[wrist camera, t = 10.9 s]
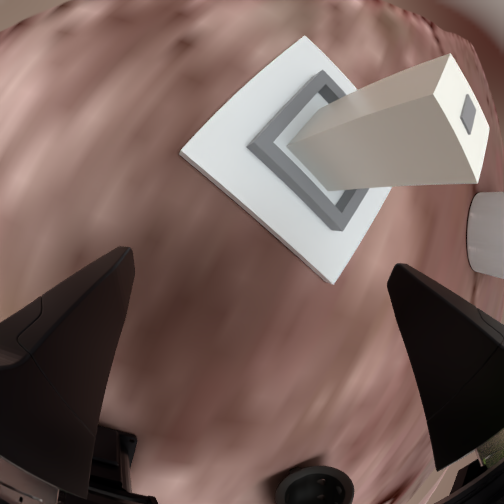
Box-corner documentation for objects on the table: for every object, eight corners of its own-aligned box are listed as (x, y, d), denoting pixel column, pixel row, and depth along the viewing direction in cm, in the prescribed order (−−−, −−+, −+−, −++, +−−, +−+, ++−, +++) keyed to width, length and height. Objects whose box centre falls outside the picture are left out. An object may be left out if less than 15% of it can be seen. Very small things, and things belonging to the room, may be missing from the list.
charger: (328, 191, 22) (480, 183, 10) (285, 146, 20) (436, 93, 8) (356, 151, 23) (491, 127, 10) (319, 108, 21) (452, 52, 9)
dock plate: (325, 281, 24) (344, 288, 22) (178, 154, 19) (183, 144, 16) (399, 157, 26) (418, 155, 24) (298, 41, 21) (313, 28, 18)
